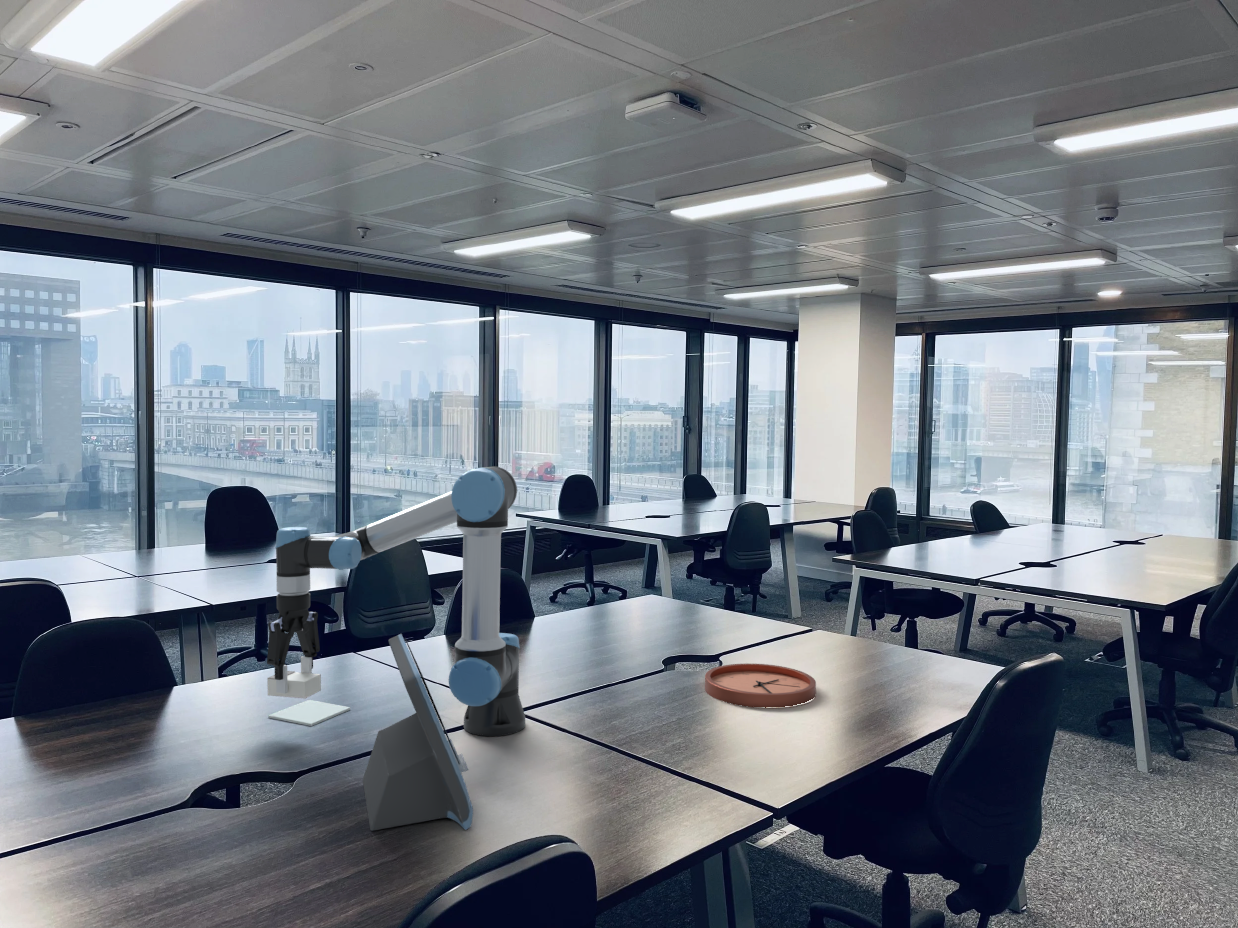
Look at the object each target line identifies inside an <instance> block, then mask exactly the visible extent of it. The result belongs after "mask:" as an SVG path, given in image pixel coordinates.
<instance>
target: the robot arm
mask: <svg viewBox="0 0 1238 928" xmlns="http://www.w3.org/2000/svg"><path fill="white" fill-rule="evenodd" d="M517 495H518V484H517V482H516V480H515V478H514V476H513V475H512V474H511V473H510V472H509V471H508V470H506V469H505V468H503V467H499V466H495V465H494V466H492V465H491V466H485V467H482V466H481V467H474V468H472V469H469V470H467V471H466V472H464V473H462V474H461V475H460V476H459V477H458V478H457V479H456V480H455V482H454V484H453V486H452V489H451V490H450V491H448V492H446V493H443V494H442V495H438V496H436V497H434V498H431V499H428V500H426V501H424V502H421V503H419V504H416V505H414V506H412V507H409V508H406V509H404V510H401V511H399V512H397V513H394V514H391V515H389V516H387V517H384V518H382V519H379V520H376V521H375V522H372V523H369V524H367V525H364V526H362V527H359V528H357V529H354V530H352V531H349V532H345V533H341V534H338V535H337V534H336V535H334V536H313V535H311V530H310V529H309V527H307V526H305V527H303V526H288V527H282V528H279V529H278V530H277V532H276V536H275V537H276V542H275V548H274V549H275V555H276V556H275V557H276V559H275V560H276V563H275V564H276V592H277V595H276V609H277V610H278V613H279V615H278V617H277V619H276V620H275V621H269V622H268V624H267V626H268V631H269V633H268V643H267V658H266V663H267V665H270V666H273V667H274V675H275V679H276V692H278V693H284V694H286V693H288V684H287V671H288V665H286V664H285V663H286V659H287V655H288V652H289V647H290V643H291V641H292V638H293V637H294V634H295V633H296V636H297V639H298V642H299V646H300V649H301V651H302V654H303V655H302V656H300V673H312V672H313V669H314V658H315V657H317V656H318V653H319V652H320V649H321V648H320V647H321V646H320V638H319V627H318V620H319V619H318V617H319V613H318V612H316V611H309V608H310V607H311V593H310V592H309V591H310V590H311V569H327V570H328V569H330V570H331V569H332V570H340V571H343V570H353V569H355V568H357V567H358V565H359V563H361V562H360V561H363V560H365V559H369V558H370V557H372V556H375V555H377V554H379V553H381V552H384V551H387V550H389V549H392V548H394V547H397V546H399V545H401V544H405V543H407V542H410V541H412V540H415V539H417V538H420V537H422V536H425V535H427V534H430V533H432V532H435V531H438V530H440V529H443V528H445V527H448V526H450V525H453V524H456V527H457V529H459V531H460V532H462V535H463V537H462V538H463V539H462V543H463V544H462V589H461V590H462V591H461V592H462V593H461V594H462V598H461V600H462V601H461V602H462V605H461V607H462V608H461V637H460V638H459V639H458V640H457V641H456V642H455V644H454V664H453V665H452V667H451V669H450V672H449V675H448V687H449V690H450V692H451V693H452V696H453V697H454V698H456V699H457V700H458V702H460V703H461V704H463V705H466V706H467V707H466V710H465V712H464V717H463V728H464V730H465V731H466V732H468V733H469V734H472V735H473V734H474V735H477V736H483V737H501V736H508V735H511V734H514V733H517V732H520V731H522V730H524V728H525V726H526V714H525V711H524V708H523V705H522V701H521V698H520V694H519V685H520V683H519V681H520V680H519V679H520V677H519V676H520V675H519V674H520V672H519V671H520V650H521V646H520V640H519V637H518V636H517V635H516V634H514V633H513V634H512V633H506V632H500V613H501V612H500V611H501V610H500V608H501V607H500V605H501V599H500V598H501V561H502V560H501V552H502V550H501V548H502V546H501V545H502V544H501V543H502V533H503V532H504V531H505V530H506V529H507V528H508V525H509V524H508V523H509V521H508V520H509V509H510V508H512V506H513V505H514V503H515V501H516V499H517Z"/></svg>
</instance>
